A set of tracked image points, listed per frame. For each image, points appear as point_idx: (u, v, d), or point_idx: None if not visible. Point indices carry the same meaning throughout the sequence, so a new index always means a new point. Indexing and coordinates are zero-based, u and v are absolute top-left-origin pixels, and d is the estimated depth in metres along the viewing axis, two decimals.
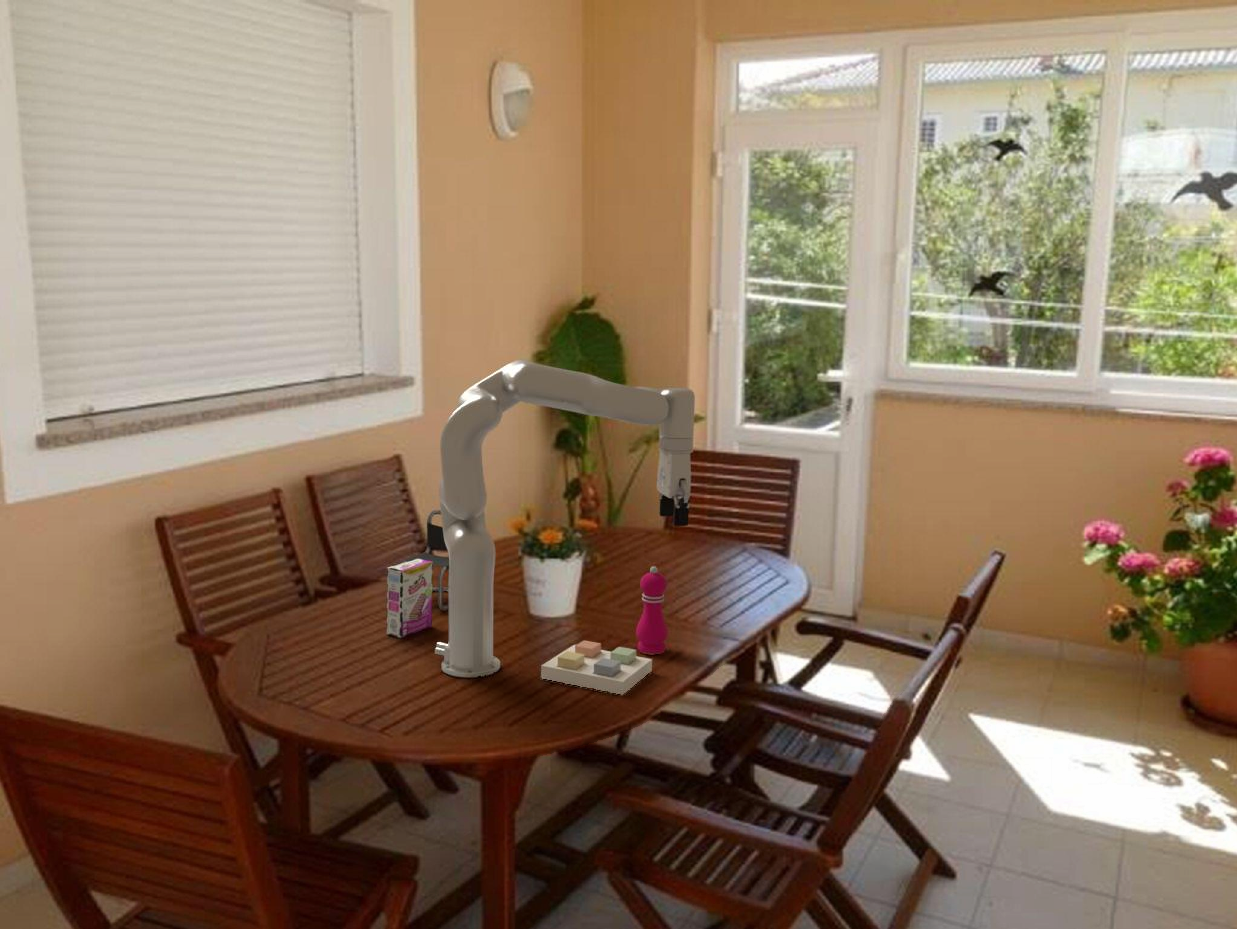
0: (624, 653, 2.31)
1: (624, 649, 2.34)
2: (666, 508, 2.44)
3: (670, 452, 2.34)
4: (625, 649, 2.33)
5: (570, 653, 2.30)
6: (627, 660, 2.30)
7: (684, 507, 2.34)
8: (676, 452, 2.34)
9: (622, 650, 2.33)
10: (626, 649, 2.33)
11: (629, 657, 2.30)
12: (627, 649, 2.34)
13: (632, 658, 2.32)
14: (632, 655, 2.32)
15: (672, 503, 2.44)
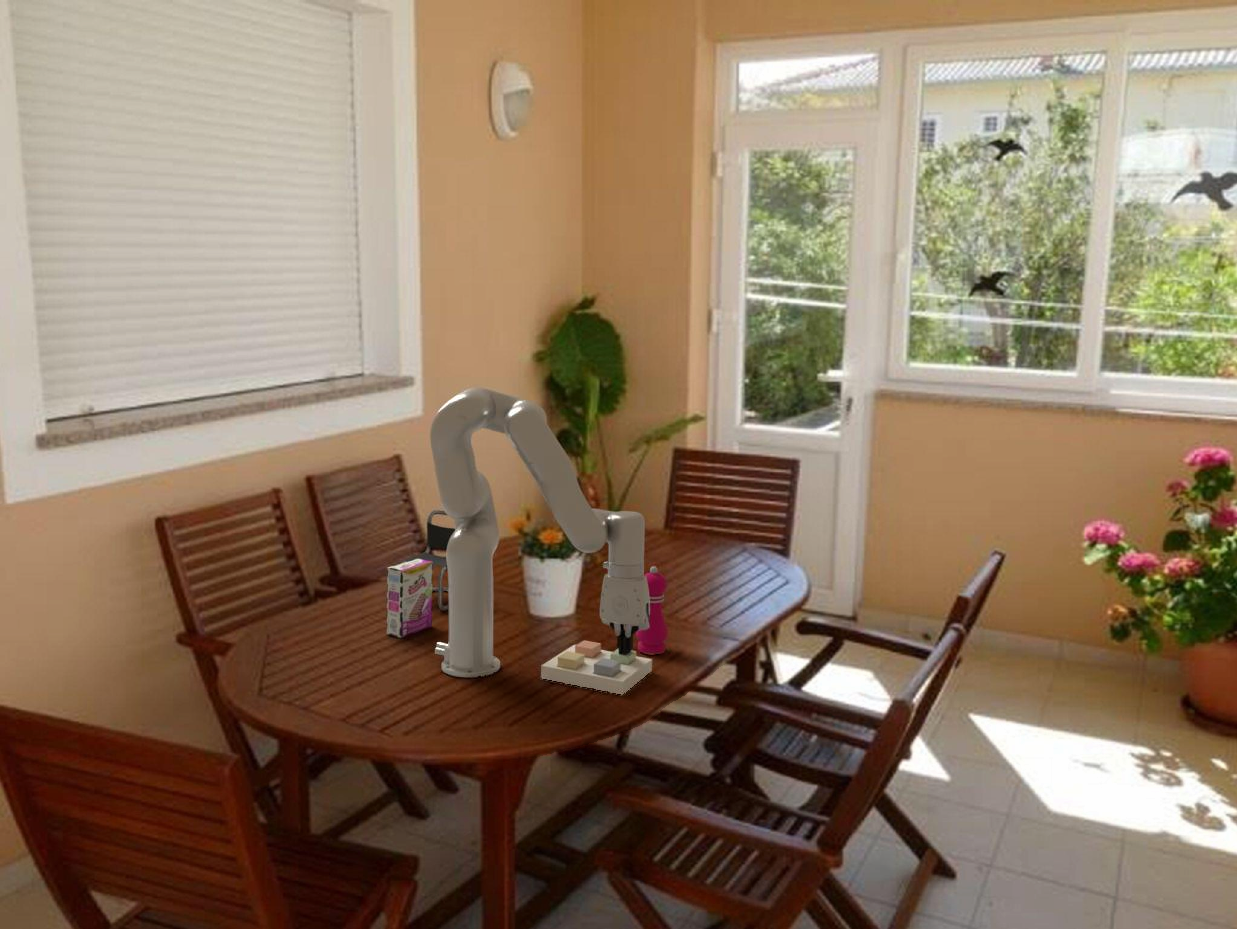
0: None
1: None
2: None
3: (634, 579, 2.26)
4: None
5: (570, 653, 2.30)
6: (627, 661, 2.30)
7: None
8: (639, 578, 2.27)
9: None
10: None
11: (629, 658, 2.30)
12: None
13: (632, 659, 2.32)
14: (632, 656, 2.32)
15: None
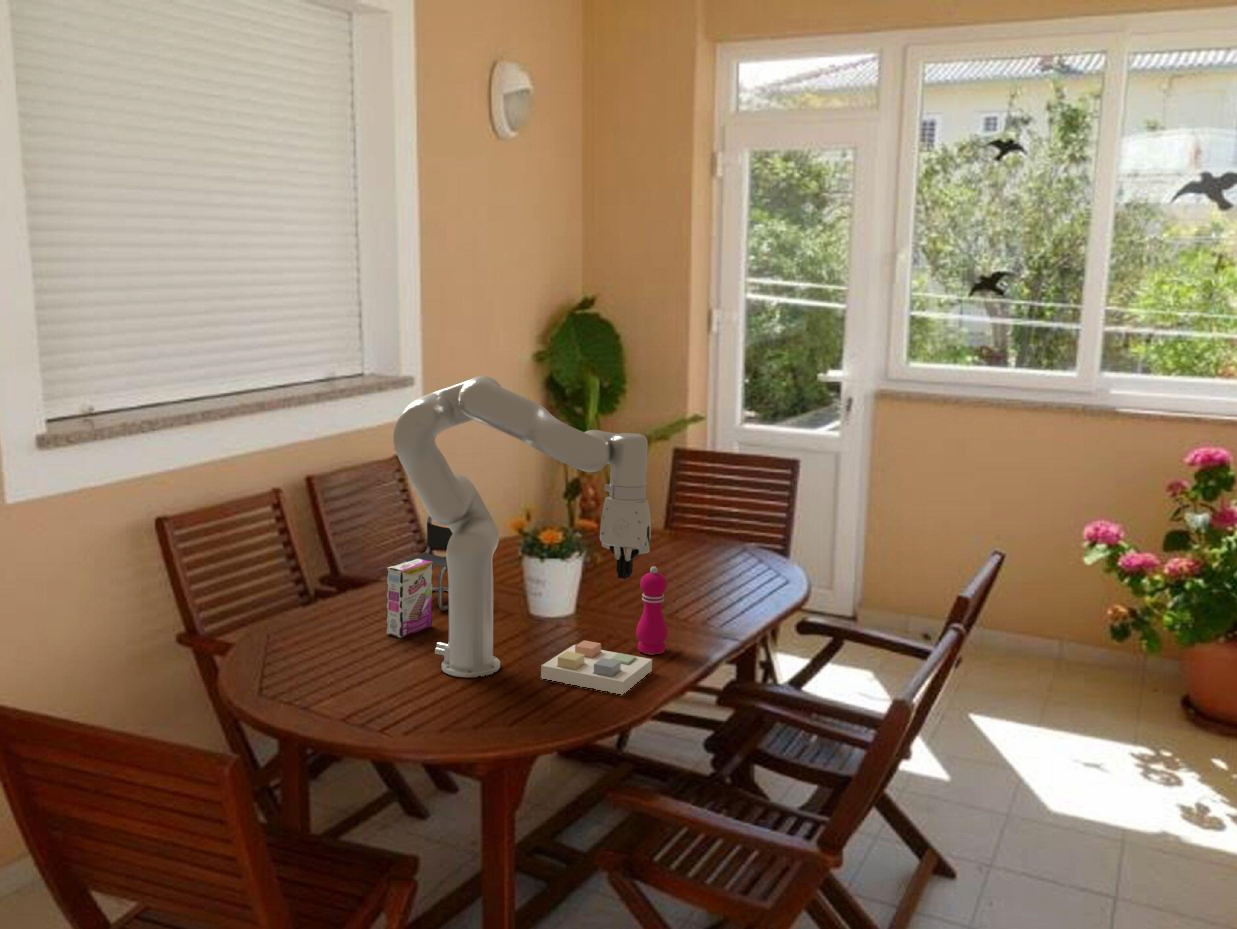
0: (624, 659, 2.31)
1: (624, 655, 2.34)
2: None
3: (636, 501, 2.23)
4: (625, 655, 2.34)
5: (570, 653, 2.30)
6: None
7: None
8: (640, 500, 2.24)
9: (622, 657, 2.33)
10: (626, 655, 2.34)
11: (629, 663, 2.30)
12: (627, 655, 2.34)
13: None
14: (632, 661, 2.32)
15: None
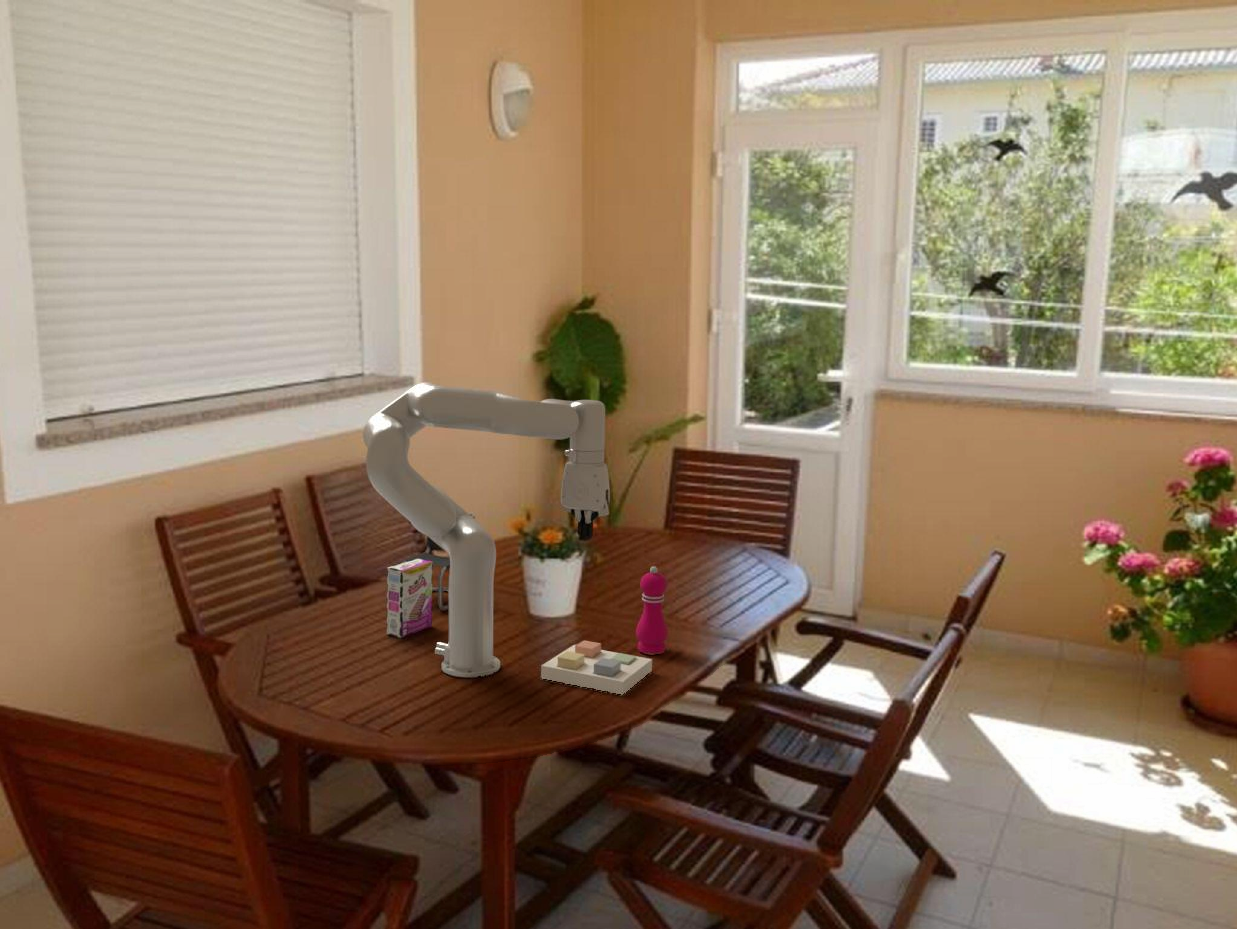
0: (624, 659, 2.31)
1: (624, 655, 2.34)
2: None
3: (594, 465, 2.32)
4: (625, 655, 2.34)
5: (570, 653, 2.30)
6: None
7: None
8: (599, 464, 2.33)
9: (622, 657, 2.33)
10: (626, 655, 2.34)
11: (629, 663, 2.30)
12: (627, 655, 2.34)
13: None
14: (632, 661, 2.32)
15: None
